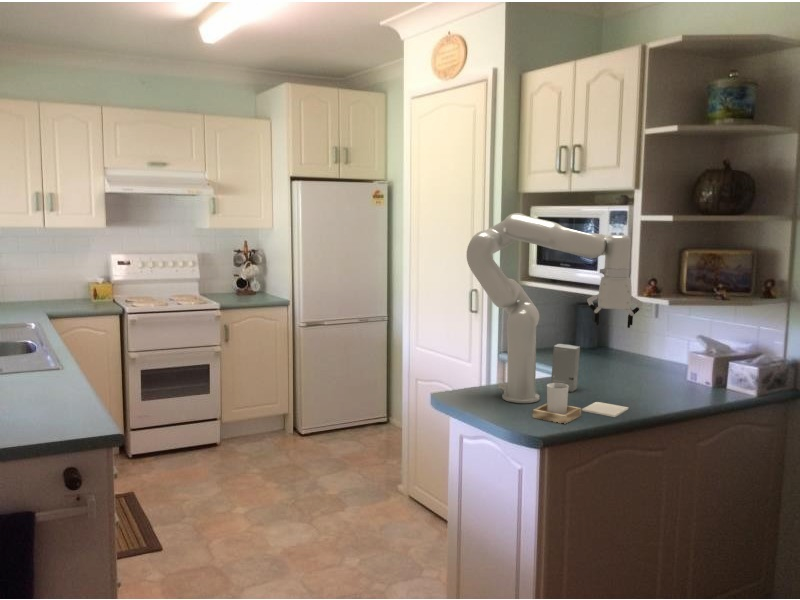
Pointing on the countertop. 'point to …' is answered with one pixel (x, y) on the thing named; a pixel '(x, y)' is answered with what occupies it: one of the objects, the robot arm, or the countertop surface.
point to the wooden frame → (545, 415)
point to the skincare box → (565, 365)
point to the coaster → (605, 409)
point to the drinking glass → (557, 398)
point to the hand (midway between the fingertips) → (613, 326)
